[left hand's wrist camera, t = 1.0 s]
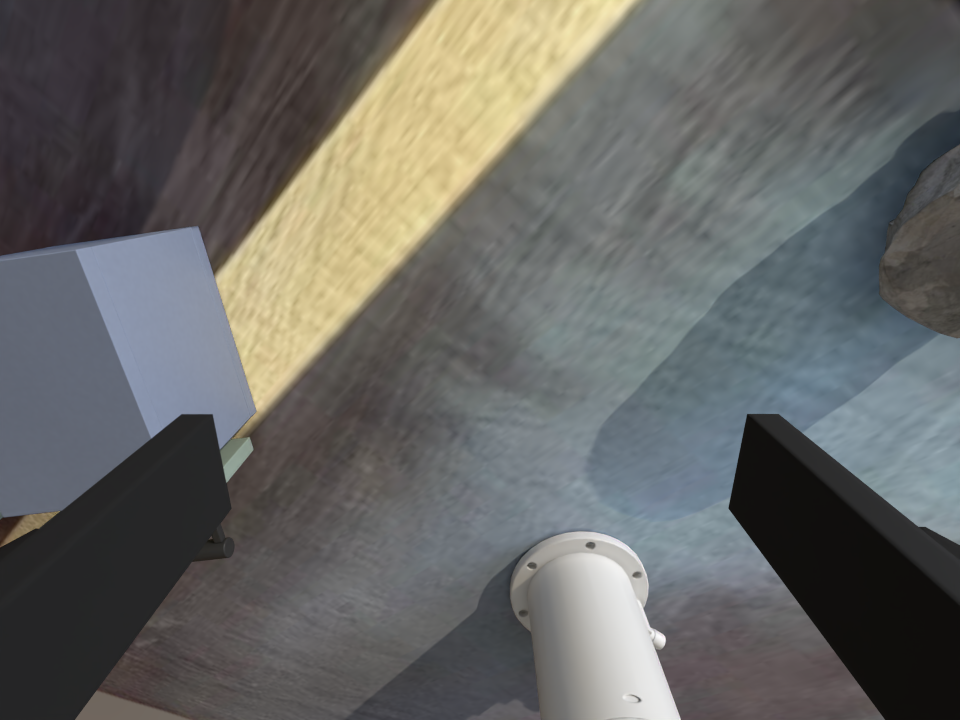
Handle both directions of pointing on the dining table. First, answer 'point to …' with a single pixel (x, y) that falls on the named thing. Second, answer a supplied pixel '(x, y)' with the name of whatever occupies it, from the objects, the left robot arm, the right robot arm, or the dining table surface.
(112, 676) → the dining table surface
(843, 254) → the dining table surface
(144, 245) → the cabinet
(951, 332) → the decorative stone
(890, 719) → the left robot arm
